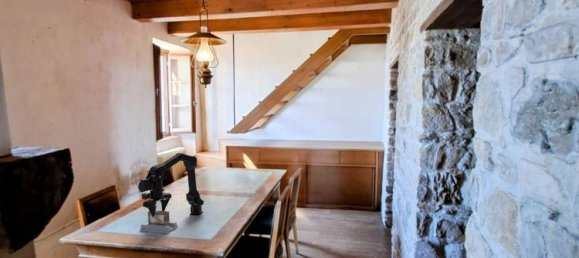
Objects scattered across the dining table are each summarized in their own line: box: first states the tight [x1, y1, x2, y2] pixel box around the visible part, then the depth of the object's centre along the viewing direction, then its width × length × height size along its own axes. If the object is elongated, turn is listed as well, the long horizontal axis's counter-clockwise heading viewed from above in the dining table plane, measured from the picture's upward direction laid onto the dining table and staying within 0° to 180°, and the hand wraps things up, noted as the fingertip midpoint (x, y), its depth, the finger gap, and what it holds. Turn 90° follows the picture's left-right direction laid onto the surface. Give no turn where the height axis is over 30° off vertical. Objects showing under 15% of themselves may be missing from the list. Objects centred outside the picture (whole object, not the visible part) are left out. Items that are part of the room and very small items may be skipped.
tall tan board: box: [147, 209, 170, 226], centre depth 185 cm, size 12×3×9 cm, turn 76°
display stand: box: [139, 220, 179, 234], centre depth 185 cm, size 18×10×3 cm, turn 76°
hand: (158, 214), depth 184 cm, fingers open, 9 cm apart
